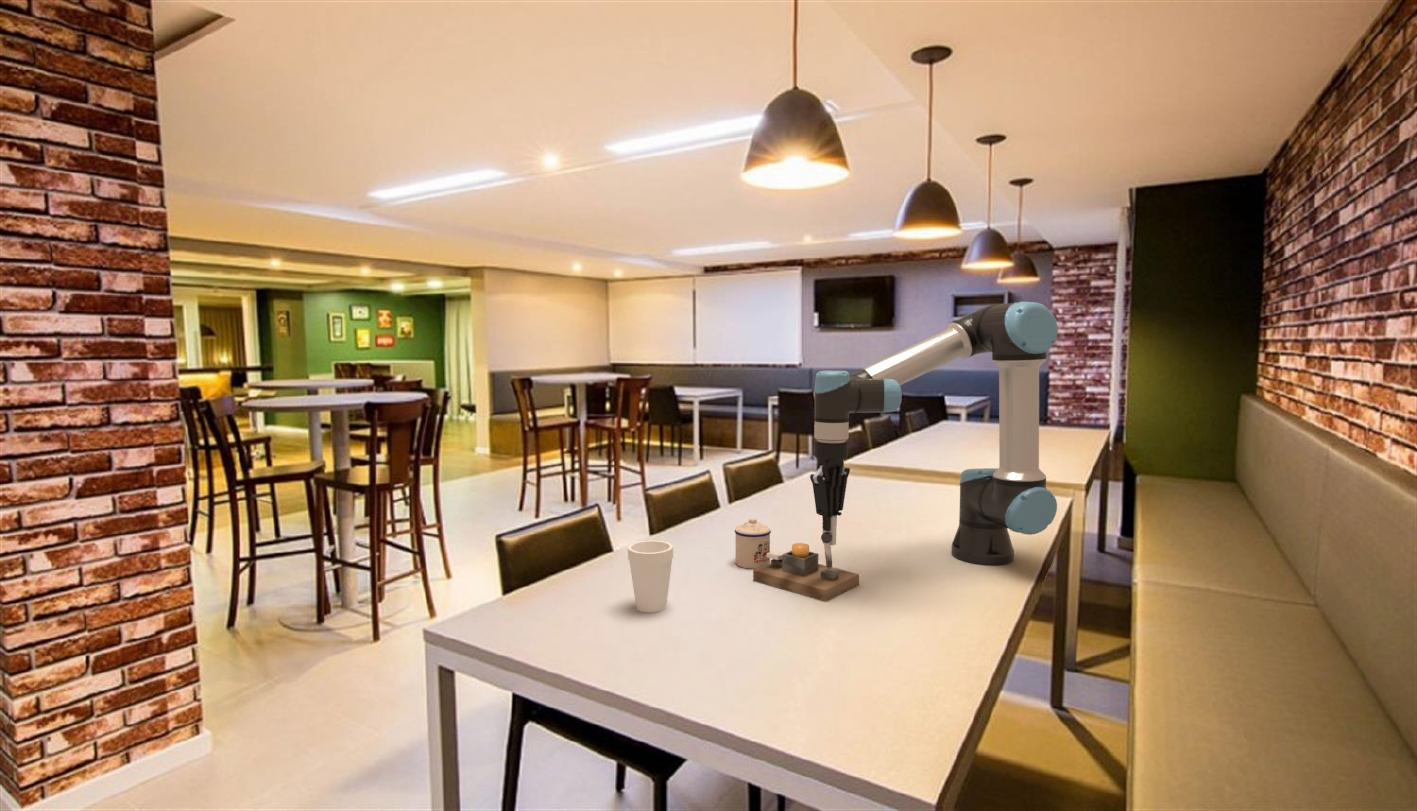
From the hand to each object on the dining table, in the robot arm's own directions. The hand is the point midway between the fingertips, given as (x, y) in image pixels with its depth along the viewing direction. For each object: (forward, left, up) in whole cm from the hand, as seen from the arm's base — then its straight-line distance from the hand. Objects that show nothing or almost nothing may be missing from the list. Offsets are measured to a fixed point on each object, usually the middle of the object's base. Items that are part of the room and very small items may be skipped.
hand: (829, 543), depth 155 cm
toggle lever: (0, 0, -6) cm, 6 cm away
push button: (+8, 0, -5) cm, 9 cm away
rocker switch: (+14, 0, -6) cm, 15 cm away
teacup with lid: (+24, -4, -11) cm, 27 cm away
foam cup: (+22, +34, -11) cm, 42 cm away
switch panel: (+6, 0, -10) cm, 12 cm away
